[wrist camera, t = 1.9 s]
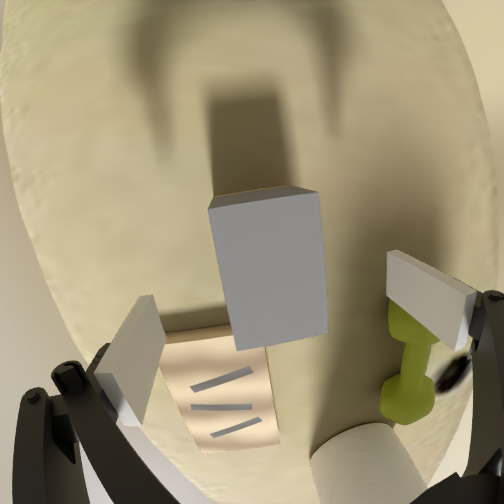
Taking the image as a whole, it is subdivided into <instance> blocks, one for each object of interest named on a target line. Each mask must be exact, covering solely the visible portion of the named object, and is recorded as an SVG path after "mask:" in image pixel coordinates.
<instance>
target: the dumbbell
mask: <svg viewBox="0 0 504 504" xmlns="http://www.w3.org/2000/svg"><path fill="white" fill-rule="evenodd" d="M388 328H389V332H390V335H391V336H392V337H393V338H395V339H397V340H400V341H402V342H405V346H404V351H403V357H402V364H401V373H400V374H397V375H395V376H393V377H391V378H389V379H387V380H386V381H385V382H384V383H383V385H382V389H381V395H380V402H379V411H380V413H381V414H382V415H383V416H384V417H386V418H387V419H389V420H391V421H394V422H396V423H398V424H401V425H408V424H411V423H413V422H415V421H417V420H419V419H421V418H423V417H425V416H426V415H428V414H429V413H430V412H431V411H432V408H433V406H434V401H435V389H434V383H433V381H432V379H430V378H429V377H427V376H425V372H426V368H427V364H428V360H429V354H430V346H431V345H432V344H434V343H436V342H439V341H440V339H439V338H438V337H436V336H435V335H434V334H433V333H432V332H430V331H429V330H428V329H427V328H426V327H424V326H423V325H422V324H421V323H420V322H418V321H417V320H416V319H415V318H414V317H412V316H411V315H410V314H409V313H408V312H406V311H405V310H404V309H403V308H401V307H400V306H399V305H398V304H396V303H395V302H394V301H393V300H391V299H389V305H388Z"/></svg>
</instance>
